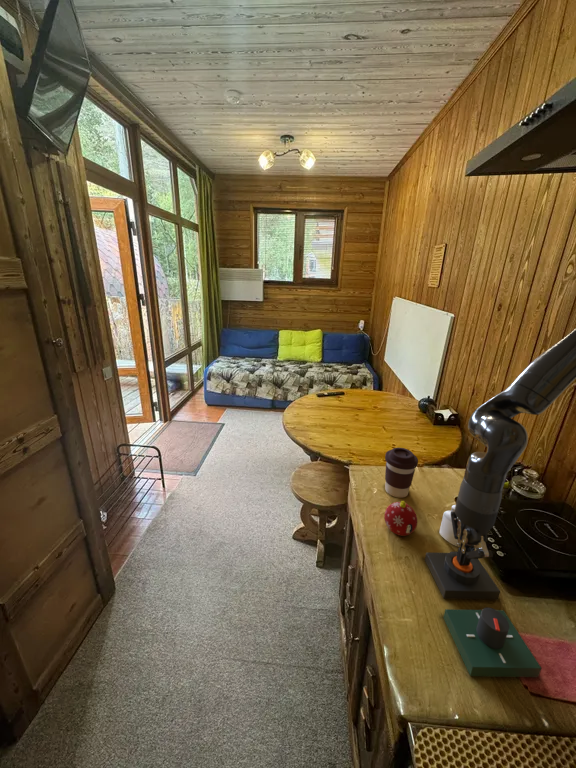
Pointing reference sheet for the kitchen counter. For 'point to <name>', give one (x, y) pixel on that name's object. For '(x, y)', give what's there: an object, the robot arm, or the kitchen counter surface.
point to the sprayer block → (460, 578)
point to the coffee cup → (399, 471)
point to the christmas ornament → (400, 518)
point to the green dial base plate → (485, 659)
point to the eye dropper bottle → (448, 527)
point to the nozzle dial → (492, 628)
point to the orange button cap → (462, 566)
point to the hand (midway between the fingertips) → (462, 562)
